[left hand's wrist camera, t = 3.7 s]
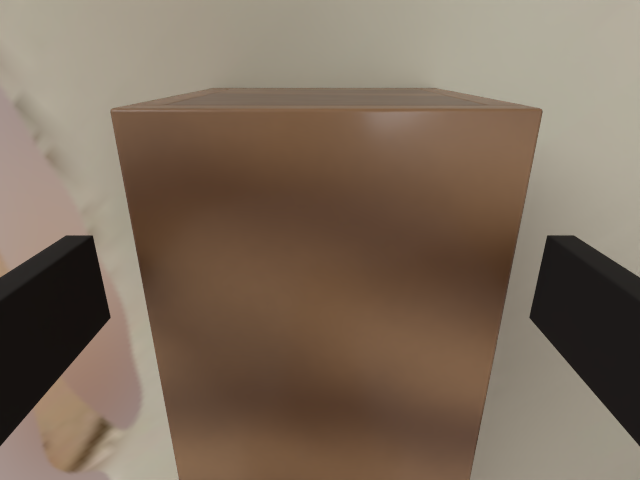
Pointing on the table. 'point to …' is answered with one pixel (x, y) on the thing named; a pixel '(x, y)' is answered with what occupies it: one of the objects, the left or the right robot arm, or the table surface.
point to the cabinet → (325, 273)
